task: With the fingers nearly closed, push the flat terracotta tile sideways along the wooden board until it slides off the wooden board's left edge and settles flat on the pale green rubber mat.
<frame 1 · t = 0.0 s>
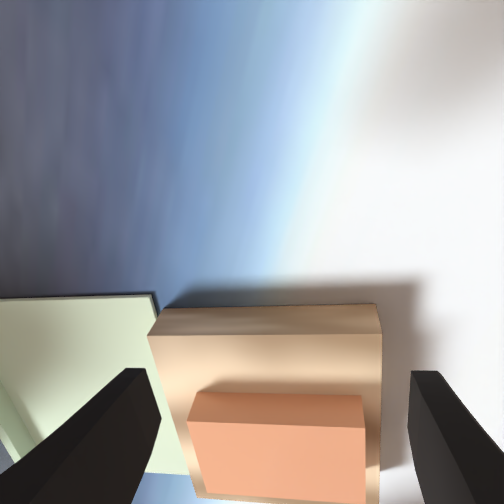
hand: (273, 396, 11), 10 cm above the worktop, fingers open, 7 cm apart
tile: (281, 431, 22), point 2 cm above the worktop, touching wooden board
mat: (86, 392, 27), on the worktop
wooden board: (276, 397, 25), on the worktop
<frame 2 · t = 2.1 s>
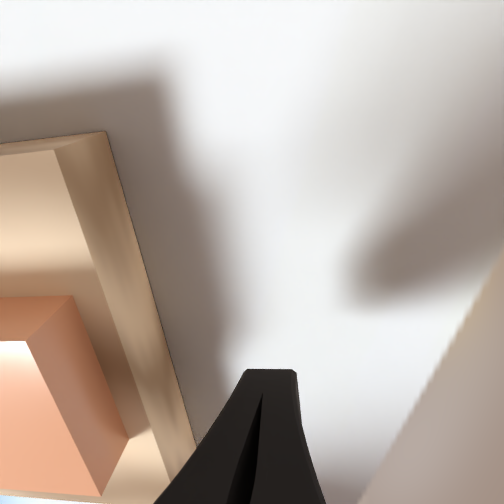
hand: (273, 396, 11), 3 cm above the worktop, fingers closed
wooden board: (21, 327, 15), on the worktop
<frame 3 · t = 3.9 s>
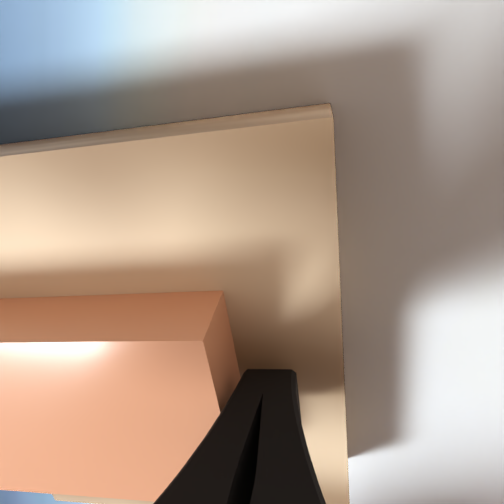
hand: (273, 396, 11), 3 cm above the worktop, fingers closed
tile: (102, 375, 12), point 3 cm above the worktop, touching wooden board, gripper
wooden board: (172, 326, 14), on the worktop
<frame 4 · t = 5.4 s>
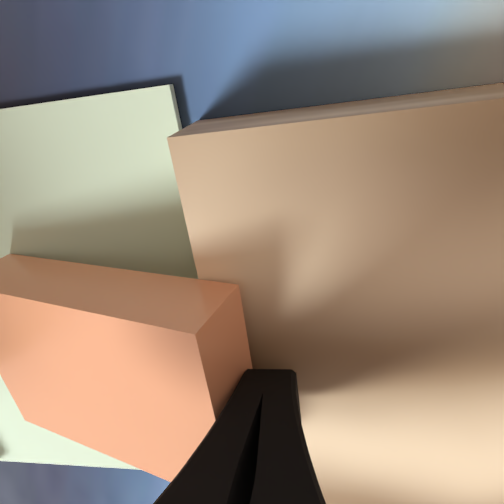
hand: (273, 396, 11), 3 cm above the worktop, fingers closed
tile: (131, 345, 13), point 2 cm above the worktop, tilted 16°, touching gripper
mat: (50, 328, 15), on the worktop
wooden board: (415, 322, 13), on the worktop
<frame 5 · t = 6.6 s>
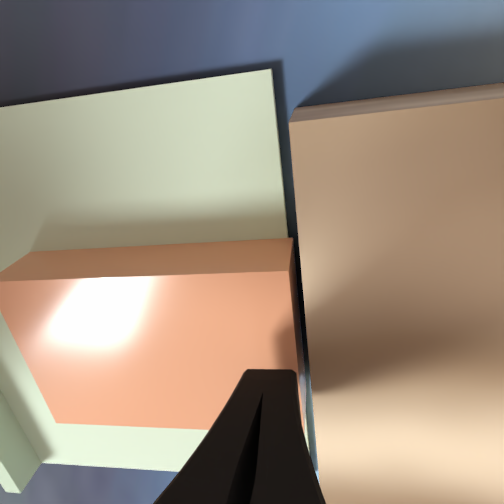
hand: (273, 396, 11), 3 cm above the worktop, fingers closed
tile: (172, 321, 14), resting on mat
mat: (111, 326, 15), on the worktop
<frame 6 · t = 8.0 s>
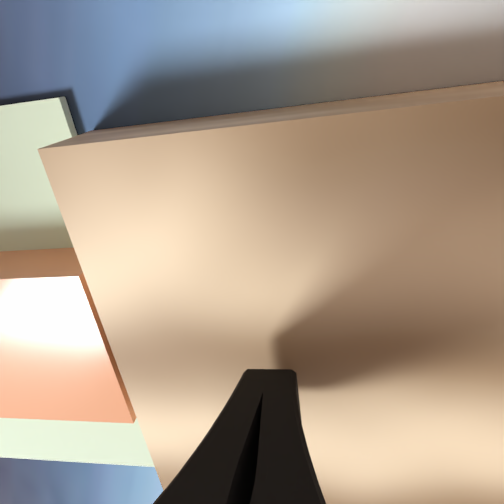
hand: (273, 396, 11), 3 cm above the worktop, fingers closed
tile: (27, 321, 15), resting on mat
wooden board: (312, 321, 13), on the worktop
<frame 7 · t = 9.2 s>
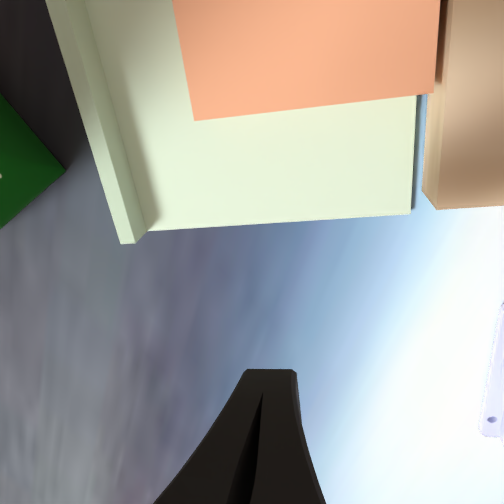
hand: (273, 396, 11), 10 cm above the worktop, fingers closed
tile: (303, 21, 15), resting on mat
mat: (240, 43, 16), on the worktop
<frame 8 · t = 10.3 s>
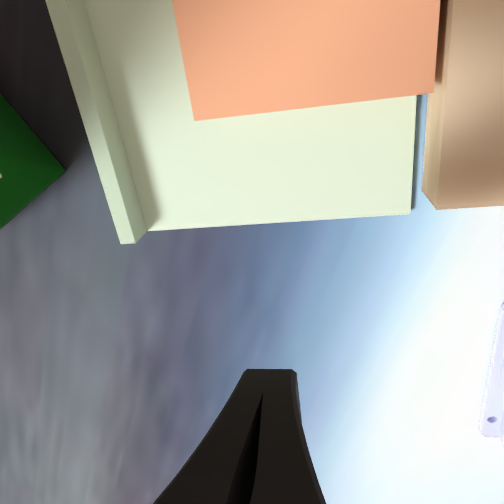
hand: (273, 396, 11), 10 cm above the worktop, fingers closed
tile: (303, 21, 15), resting on mat
mat: (240, 43, 16), on the worktop
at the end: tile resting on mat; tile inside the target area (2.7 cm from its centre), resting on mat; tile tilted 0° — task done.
